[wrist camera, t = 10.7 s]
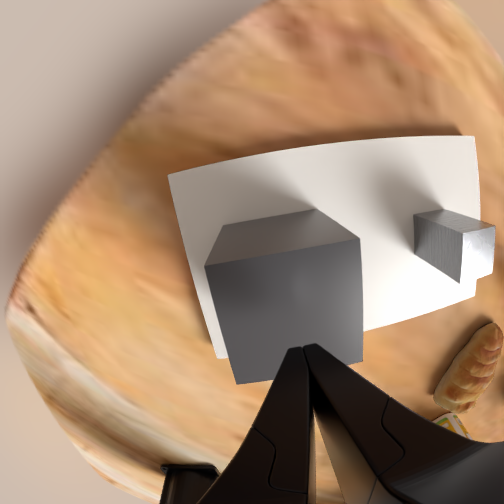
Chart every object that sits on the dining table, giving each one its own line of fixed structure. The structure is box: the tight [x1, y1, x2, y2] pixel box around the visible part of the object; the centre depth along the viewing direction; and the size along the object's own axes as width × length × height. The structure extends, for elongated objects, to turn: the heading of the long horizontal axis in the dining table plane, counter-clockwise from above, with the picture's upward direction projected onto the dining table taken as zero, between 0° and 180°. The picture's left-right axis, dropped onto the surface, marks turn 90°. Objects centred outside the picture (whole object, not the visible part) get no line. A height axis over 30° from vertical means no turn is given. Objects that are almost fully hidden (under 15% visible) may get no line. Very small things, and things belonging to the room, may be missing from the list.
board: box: [167, 136, 480, 359], centre depth 17 cm, size 20×12×1 cm, turn 101°
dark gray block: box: [204, 209, 363, 384], centre depth 13 cm, size 5×5×7 cm
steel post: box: [413, 209, 495, 284], centre depth 13 cm, size 3×3×5 cm
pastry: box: [433, 323, 504, 414], centre depth 19 cm, size 9×7×4 cm
